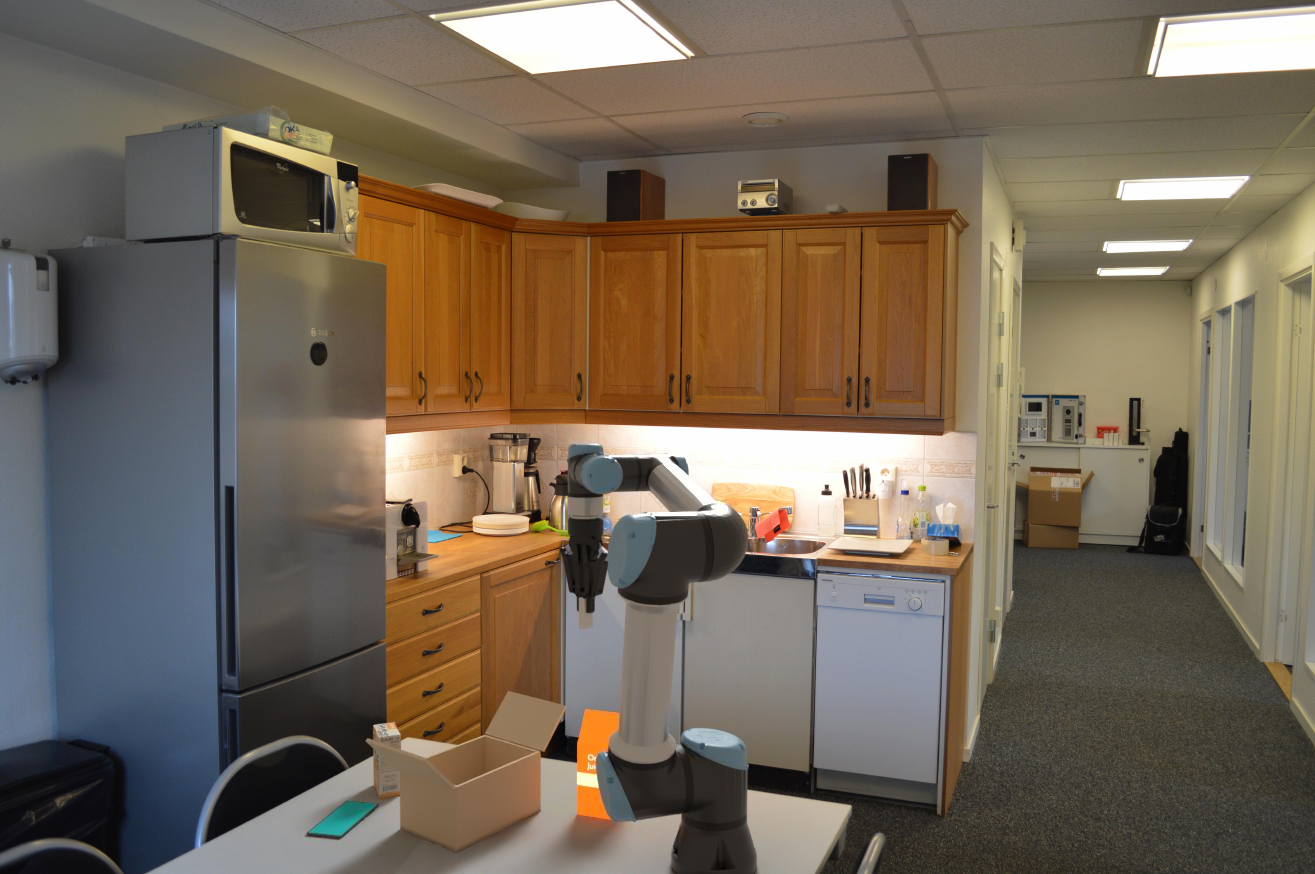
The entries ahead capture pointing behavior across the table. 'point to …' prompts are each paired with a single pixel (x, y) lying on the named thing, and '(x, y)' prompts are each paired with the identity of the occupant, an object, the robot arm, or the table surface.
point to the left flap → (411, 763)
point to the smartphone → (343, 819)
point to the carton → (472, 793)
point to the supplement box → (383, 770)
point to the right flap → (526, 720)
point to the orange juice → (592, 759)
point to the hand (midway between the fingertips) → (585, 627)
